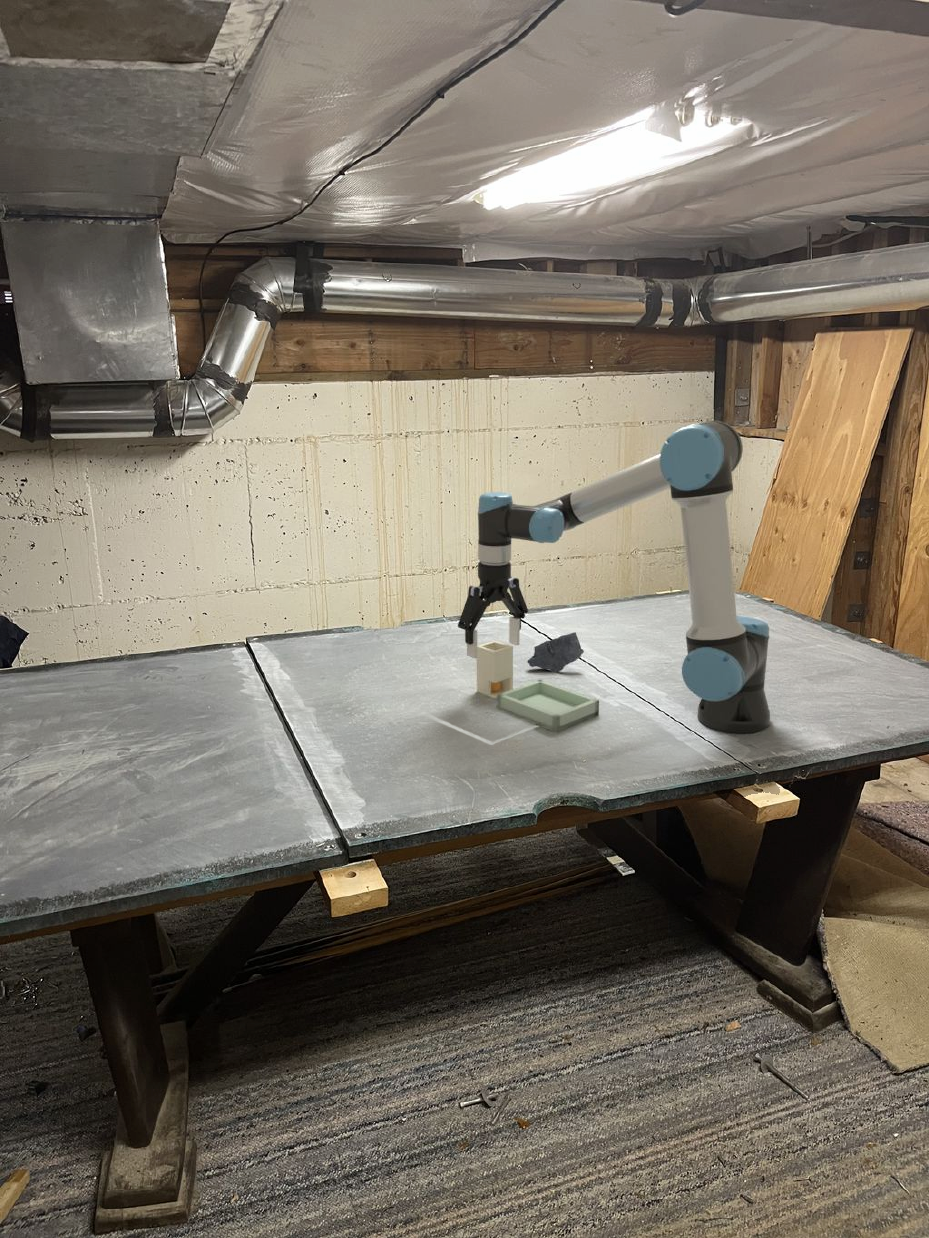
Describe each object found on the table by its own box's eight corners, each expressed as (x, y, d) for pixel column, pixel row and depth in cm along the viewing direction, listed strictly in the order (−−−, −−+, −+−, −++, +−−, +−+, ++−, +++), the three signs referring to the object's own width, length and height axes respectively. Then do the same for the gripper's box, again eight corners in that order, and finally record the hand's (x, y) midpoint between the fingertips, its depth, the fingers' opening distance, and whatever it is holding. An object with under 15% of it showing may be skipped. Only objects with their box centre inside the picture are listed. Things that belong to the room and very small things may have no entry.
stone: (535, 679, 222) (536, 640, 219) (524, 671, 227) (525, 633, 224) (584, 671, 227) (585, 633, 224) (573, 663, 232) (573, 626, 229)
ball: (503, 691, 212) (503, 679, 211) (494, 694, 210) (494, 682, 209) (495, 688, 214) (494, 676, 213) (485, 691, 212) (485, 679, 211)
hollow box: (512, 694, 212) (512, 646, 209) (494, 701, 208) (494, 652, 205) (495, 688, 216) (495, 640, 213) (477, 694, 212) (476, 646, 209)
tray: (598, 714, 199) (599, 700, 198) (556, 732, 191) (556, 717, 190) (539, 693, 212) (539, 679, 211) (497, 709, 203) (497, 694, 202)
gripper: (521, 550, 214) (519, 635, 220) (441, 567, 198) (442, 658, 204) (544, 556, 208) (542, 642, 215) (464, 573, 192) (464, 666, 199)
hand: (493, 650), depth 209 cm, fingers open, 13 cm apart
